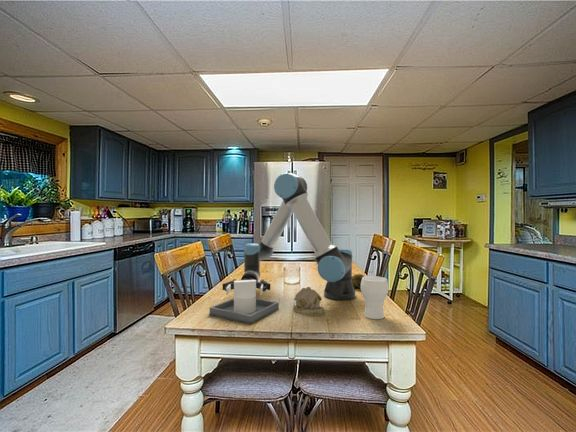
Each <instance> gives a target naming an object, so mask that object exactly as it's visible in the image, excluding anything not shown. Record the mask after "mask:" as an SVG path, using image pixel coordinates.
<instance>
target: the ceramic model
mask: <svg viewBox="0 0 576 432" xmlns="http://www.w3.org/2000/svg"><path fill="white" fill-rule="evenodd" d="M293 300H294V301H295V304H294V305H293V308H292V309H293V312H295V313H297V314H302V315H305V316H310V317H318V316H320V315H323V314H324V313H325V307H323V306H320V304H321V302H322V297H321V295H320V294H319V293H318V292H317V291H316V290H314V289H312V288H311V286H307V287H302V288H301V289H300V290H299V291H298V292H297V293H296V294H295V296H294V299H293Z"/></svg>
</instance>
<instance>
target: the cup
mask: <svg viewBox="0 0 576 432" xmlns="http://www.w3.org/2000/svg"><path fill="white" fill-rule="evenodd" d="M360 292H361V295H362V297H363V300H364V305H365V308H364V311H363V312H364V313H363V316H364V317H365V318H367V319H371V320H381V319H384V318H385V313H384V304H385V300H386V298H387V297H388V293H389V282H388V279H387V278H386V277H382V276H378V275H377V276H376V275H367V276H365V275H364V277H363V278H362V281H361V287H360Z"/></svg>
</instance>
